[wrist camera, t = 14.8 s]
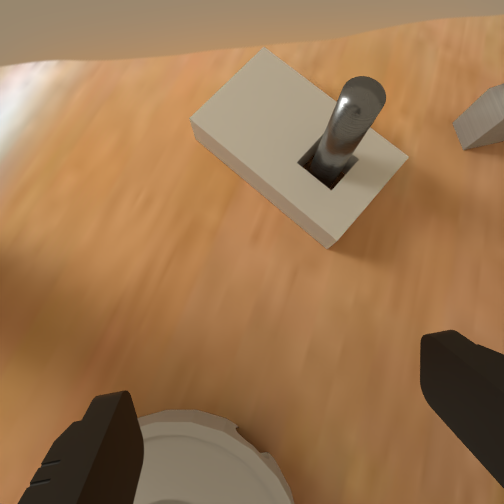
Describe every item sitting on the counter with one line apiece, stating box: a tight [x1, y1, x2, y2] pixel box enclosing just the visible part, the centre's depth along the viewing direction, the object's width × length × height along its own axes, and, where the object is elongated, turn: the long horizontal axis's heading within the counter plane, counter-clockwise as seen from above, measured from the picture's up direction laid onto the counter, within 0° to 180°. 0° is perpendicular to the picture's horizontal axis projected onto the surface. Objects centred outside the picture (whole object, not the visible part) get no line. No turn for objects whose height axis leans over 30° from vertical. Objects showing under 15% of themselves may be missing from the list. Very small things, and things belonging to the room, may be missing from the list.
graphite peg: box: [308, 76, 386, 188], centre depth 29 cm, size 3×3×14 cm
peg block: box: [189, 47, 409, 249], centre depth 35 cm, size 20×12×4 cm, turn 48°
